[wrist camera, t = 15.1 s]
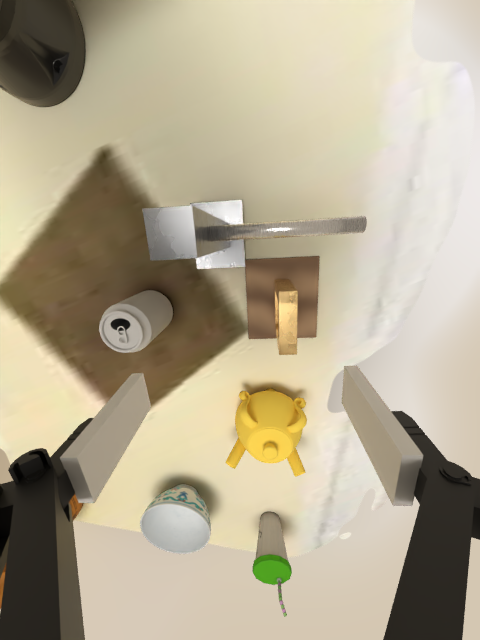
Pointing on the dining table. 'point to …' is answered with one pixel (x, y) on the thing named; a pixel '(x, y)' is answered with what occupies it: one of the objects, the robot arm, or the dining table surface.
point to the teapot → (269, 428)
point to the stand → (225, 232)
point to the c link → (286, 316)
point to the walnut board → (263, 294)
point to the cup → (271, 554)
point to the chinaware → (177, 521)
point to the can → (135, 321)
